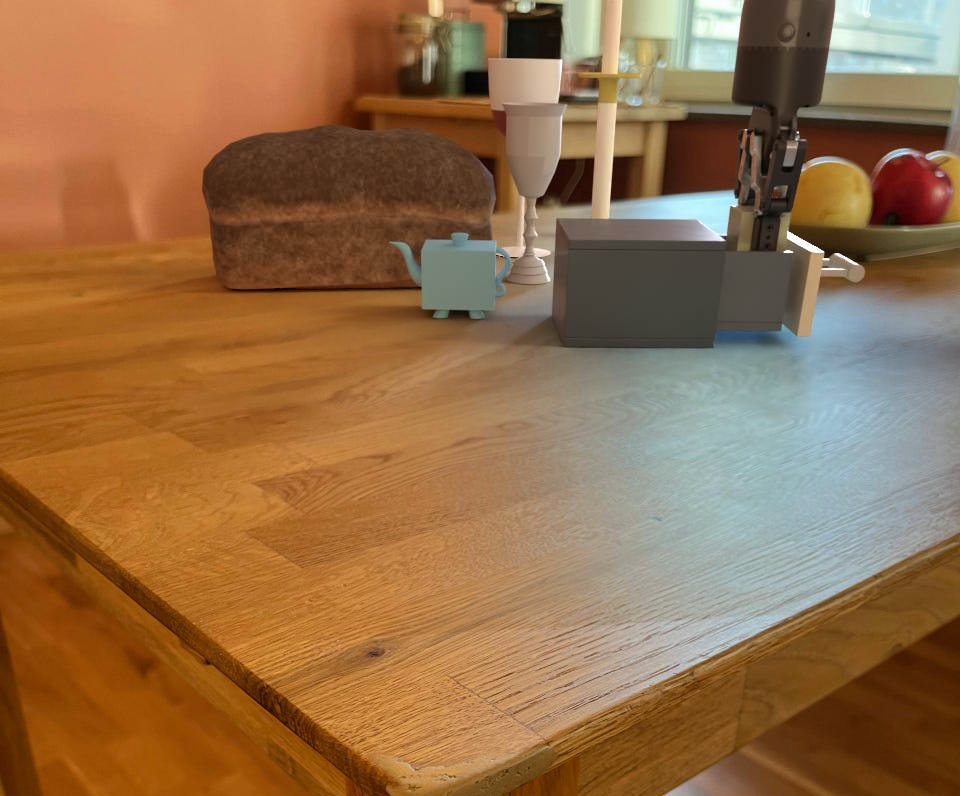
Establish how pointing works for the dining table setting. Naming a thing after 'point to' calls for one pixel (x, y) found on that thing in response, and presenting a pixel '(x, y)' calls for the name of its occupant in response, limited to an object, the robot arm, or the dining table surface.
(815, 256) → the drawer
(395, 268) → the bread
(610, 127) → the candle
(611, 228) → the cabinet
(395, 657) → the dining table surface
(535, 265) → the chalice
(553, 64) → the wineglass
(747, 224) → the block
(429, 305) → the teapot
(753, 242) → the robot arm
